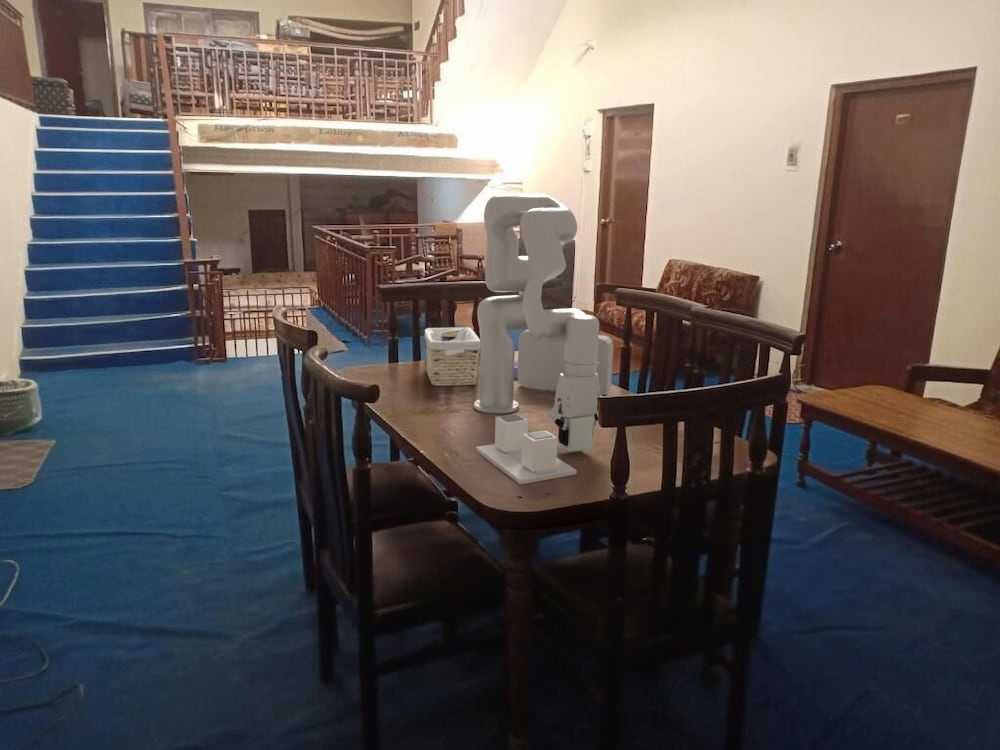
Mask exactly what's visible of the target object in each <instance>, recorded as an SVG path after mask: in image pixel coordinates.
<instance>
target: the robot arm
mask: <svg viewBox="0 0 1000 750" xmlns="http://www.w3.org/2000/svg"><path fill="white" fill-rule="evenodd" d="M483 221H484V227H485V232H486V238H487V239H486V252H485V253H486V256H485V271H484V272H485V273H484V274H485V275H484V276H485V277H484V278H485V279H484V280H485V286H486V288H487V289H488V290H490V291H491V292H495V293H511V292H513V293H515V292H518V295H517V294H515V295H496V296H495V295H494V296H490V297H485V298H484V299H483V300H481V301H480V302H479V304H478V306H477V309H476V310H477V311H476V312H477V313H476V315H477V322H478V328H479V339H480V350H479V351H480V353H479V361H480V362H479V389H478V391H477V392H478V393H479V399H477V400H475V401H474V403H473V407H474V409H475V410H477V411H479V412H482V413H485V414H486V413H487V414H496V415H497V414H498V415H499V414H500V415H501V414H508V413H513V412H516V411H518V410H519V406H520V405H519V403H518V401H516V400H514V390H515V389H514V388H515V386H514V383H515V378H514V361H515V351H516V350H515V344H514V342H513V339H512V338H511V337H510V336H509V333H508V332H509V331H517V330H528V329H529V332H530V334H531V336H532V337H533V338H534V339H535V340H536V341H538V342H554V341H565V350H564V368H563V373H561V374H560V376H559V379H558V383H557V388H556V392H555V396H554V404H553V407H552V408H551V410H550V411H549V412H548V413H547V417H548V418H549V419H550V420H551V421H552V422H553V423H554V424H555V425H556V427H557V428H558V435H557V441H558V444H559V443H561V444H563V445H564V446H568V436H569V430H568V429H567V427H568V424H569V418H574V417H581V416H588V415H593V416H594V420H593V428H594V426H596V425H597V421H598V420H599V419H598V417H597V407H596V399H597V397H600V388H599V379H598V374H597V373H596V369H597V367H600V362H597V351H598V336H599V335H600V321H599V319H598V317H596V316H595V315H591V314H587V313H585V312H584V311H582V310H581V309H579V308H575V307H574V308H554V309H553V308H552V309H544V307H543V303H542V294H543V293H542V291H543V284H544V283H546V282H548V281H550V280H552V279H554V278H556V277H558V276H559V275H561V274H562V273H563V272H564V271H565V269H566V267H567V264H566V263H567V261H566V259H565V256H564V252H563V247H562V245H561V243H569V242H572V241H573V240H574V239H575V237H576V235H577V232H578V223H577V219H576V217H575V214H574V213H573V211H571V210H570V208H569V207H567V206H566V205H564V204H563V203H561V202H559V201H558V200H556V199H555V198H554V197H551V196H550V195H547V194H543V193H541V194H540V193H500V194H499V193H498V194H495V195H493V196H491V197H490V198H489V199H488V201H487V202H486V204H485V207H484V212H483ZM514 228H519V229H520V234H521V238H522V241H523V245H524V248H525V253H526V255H519V249H520V247H519V246H520V240H519V237H518V234H517V233H516V231H515V229H514ZM600 398H601V397H600ZM558 414H559V417H558V416H557V415H558ZM564 418H565V420H564ZM563 421H564V422H563ZM593 437H594V434H593V435H592V438H593Z"/></svg>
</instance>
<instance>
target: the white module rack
mask: <svg viewBox="0 0 1000 750" xmlns="http://www.w3.org/2000/svg"><path fill="white" fill-rule="evenodd" d="M494 429H495V430H494V443H493V444H487V445H480V446H475V452H476V453H478V454H479V455H481V456H482V457H483V458H484V459H486V460H487V461H489V462H490V463H492V465H494V466H495V467H496V468H498V469H499V470H501V471H502V472H503V473H505V475H507V476H509V477H510V479H512V480H513V481H515V482H516V483H518V485H525V484H530V483H532V484H533V483H536V482H537V483H538V482H542V481H547V480H553V479H558V478H562V477H564V478H565V477H568V476H573V475H577V469H575V468H574V467H572V466H571V465H569V464H567V463H566V462H565V461H563V460H561V459H560V458H558V453H557V452H558V436H556V435H554V434H552V433H551V432H549V431H547V430H540V431H532V432H529V419H527V418H525V417H524V416H522V415H520V414H519V413H516V414H515V413H513V414H508V415H507V414H506V415H501V416H495V425H494Z"/></svg>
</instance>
